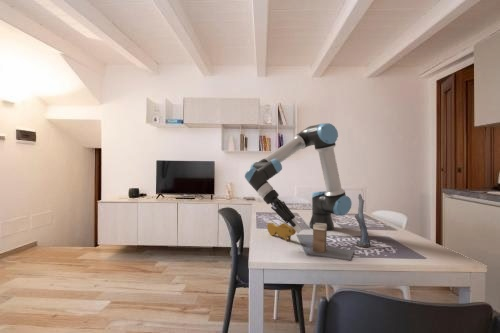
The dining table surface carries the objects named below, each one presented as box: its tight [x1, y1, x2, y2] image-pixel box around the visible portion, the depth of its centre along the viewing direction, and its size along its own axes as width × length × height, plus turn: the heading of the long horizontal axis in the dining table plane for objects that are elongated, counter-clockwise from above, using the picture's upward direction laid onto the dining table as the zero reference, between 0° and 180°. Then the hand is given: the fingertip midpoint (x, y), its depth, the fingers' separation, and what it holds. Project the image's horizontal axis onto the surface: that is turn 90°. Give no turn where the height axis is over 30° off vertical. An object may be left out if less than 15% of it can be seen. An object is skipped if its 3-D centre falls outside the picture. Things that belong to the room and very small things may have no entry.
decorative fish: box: [266, 222, 297, 242], centre depth 150 cm, size 22×3×10 cm, turn 32°
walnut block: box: [312, 223, 328, 253], centre depth 127 cm, size 5×5×12 cm
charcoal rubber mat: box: [307, 245, 355, 261], centre depth 126 cm, size 14×18×1 cm
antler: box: [354, 193, 372, 248], centre depth 140 cm, size 12×8×25 cm
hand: (300, 230), depth 131 cm, fingers closed
